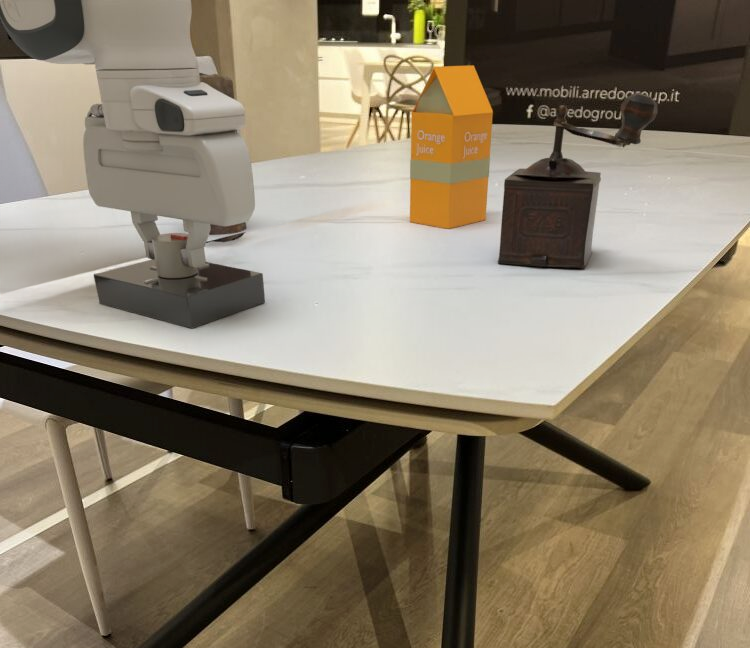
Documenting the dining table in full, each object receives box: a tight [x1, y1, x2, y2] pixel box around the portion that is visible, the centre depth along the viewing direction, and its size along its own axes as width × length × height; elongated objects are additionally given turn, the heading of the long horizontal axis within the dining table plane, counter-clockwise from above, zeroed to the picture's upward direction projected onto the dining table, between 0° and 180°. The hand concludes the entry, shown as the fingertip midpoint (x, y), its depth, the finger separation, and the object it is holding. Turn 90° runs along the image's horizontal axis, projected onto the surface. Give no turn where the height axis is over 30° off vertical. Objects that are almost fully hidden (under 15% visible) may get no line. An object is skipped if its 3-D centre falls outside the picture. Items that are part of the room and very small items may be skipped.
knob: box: [152, 232, 198, 278], centre depth 74 cm, size 4×4×4 cm
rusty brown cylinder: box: [199, 72, 247, 244], centre depth 96 cm, size 8×7×20 cm
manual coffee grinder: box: [497, 92, 659, 269], centre depth 86 cm, size 16×11×18 cm
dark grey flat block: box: [93, 259, 266, 329], centre depth 75 cm, size 14×10×3 cm
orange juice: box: [409, 64, 494, 230], centre depth 106 cm, size 8×9×20 cm
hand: (176, 262), depth 74 cm, fingers closed on knob, 4 cm apart
